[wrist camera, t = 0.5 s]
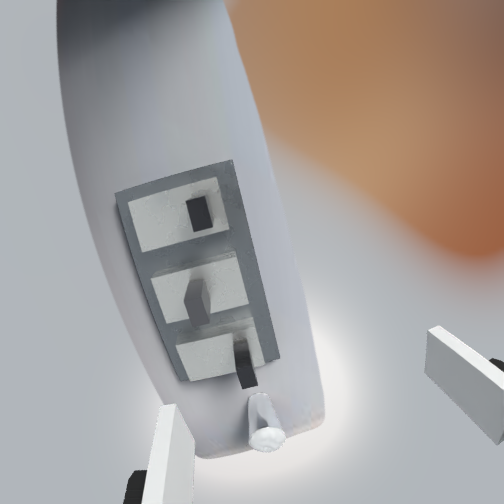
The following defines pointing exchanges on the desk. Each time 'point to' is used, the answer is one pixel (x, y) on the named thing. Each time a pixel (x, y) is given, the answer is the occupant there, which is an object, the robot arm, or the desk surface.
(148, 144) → the desk surface
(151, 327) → the desk surface
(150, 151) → the desk surface
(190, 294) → the breaker
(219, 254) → the breaker panel
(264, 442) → the milkshake
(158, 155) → the desk surface
